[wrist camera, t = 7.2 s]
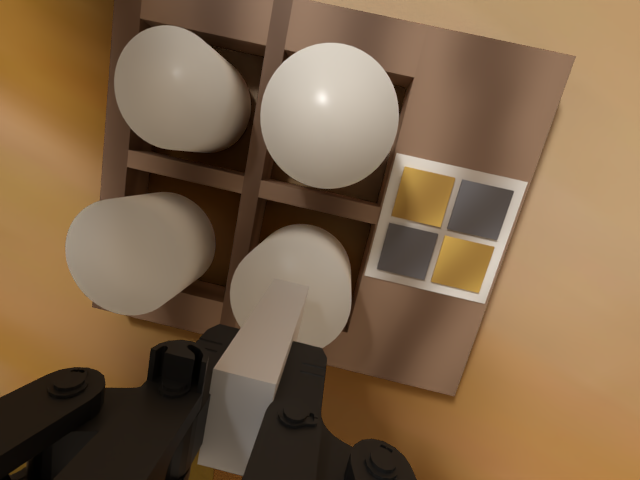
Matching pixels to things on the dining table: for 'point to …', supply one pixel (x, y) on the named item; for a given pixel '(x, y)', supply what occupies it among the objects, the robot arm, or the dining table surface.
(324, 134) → the white egg
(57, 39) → the dining table surface
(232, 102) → the white egg
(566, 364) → the dining table surface
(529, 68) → the egg tray
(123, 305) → the white egg
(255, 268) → the cream rounded oval
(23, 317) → the dining table surface
